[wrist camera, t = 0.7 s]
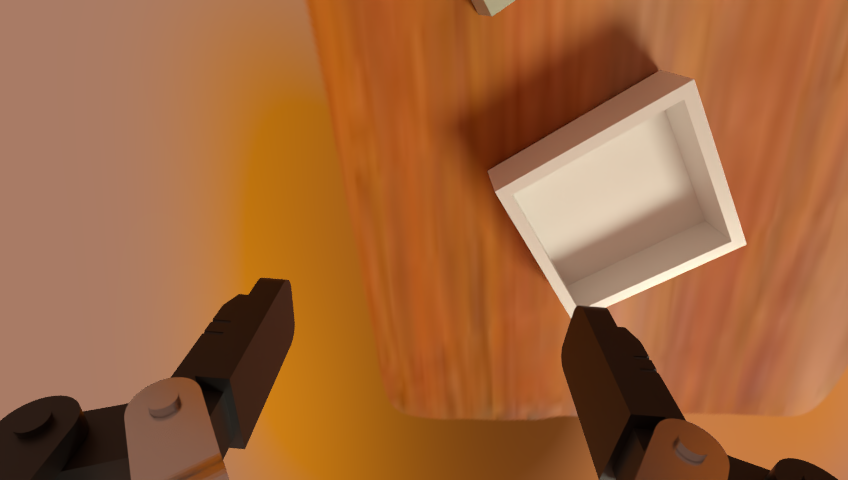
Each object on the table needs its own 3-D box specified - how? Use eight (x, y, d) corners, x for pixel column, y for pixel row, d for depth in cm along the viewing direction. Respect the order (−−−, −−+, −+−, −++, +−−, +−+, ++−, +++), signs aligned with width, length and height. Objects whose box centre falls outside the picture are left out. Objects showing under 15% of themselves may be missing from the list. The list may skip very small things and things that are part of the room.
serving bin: (660, 69, 34) (694, 79, 30) (712, 219, 41) (746, 244, 36) (487, 170, 39) (494, 191, 34) (559, 291, 45) (573, 321, 41)
